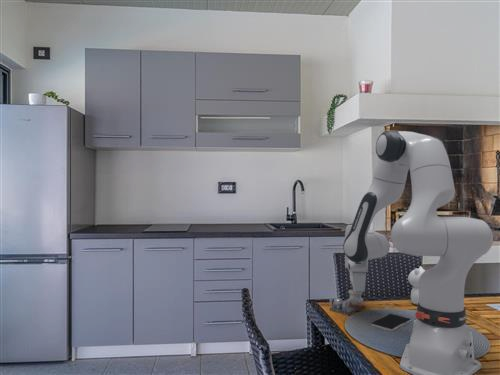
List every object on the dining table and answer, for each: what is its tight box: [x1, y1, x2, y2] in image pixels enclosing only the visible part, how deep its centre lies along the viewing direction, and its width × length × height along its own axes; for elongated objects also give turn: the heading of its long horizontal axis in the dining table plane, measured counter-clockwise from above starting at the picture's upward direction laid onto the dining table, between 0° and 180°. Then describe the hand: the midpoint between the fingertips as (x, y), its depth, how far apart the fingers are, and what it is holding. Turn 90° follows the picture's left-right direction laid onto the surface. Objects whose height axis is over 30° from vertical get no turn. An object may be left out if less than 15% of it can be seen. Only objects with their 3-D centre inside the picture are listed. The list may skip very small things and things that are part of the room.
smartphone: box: [370, 313, 412, 332], centre depth 127 cm, size 8×1×15 cm
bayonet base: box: [329, 297, 366, 316], centre depth 143 cm, size 14×10×4 cm
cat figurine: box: [407, 265, 426, 306], centre depth 147 cm, size 9×12×15 cm
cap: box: [347, 289, 364, 305], centre depth 145 cm, size 6×5×5 cm
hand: (356, 297), depth 145 cm, fingers open, 8 cm apart
